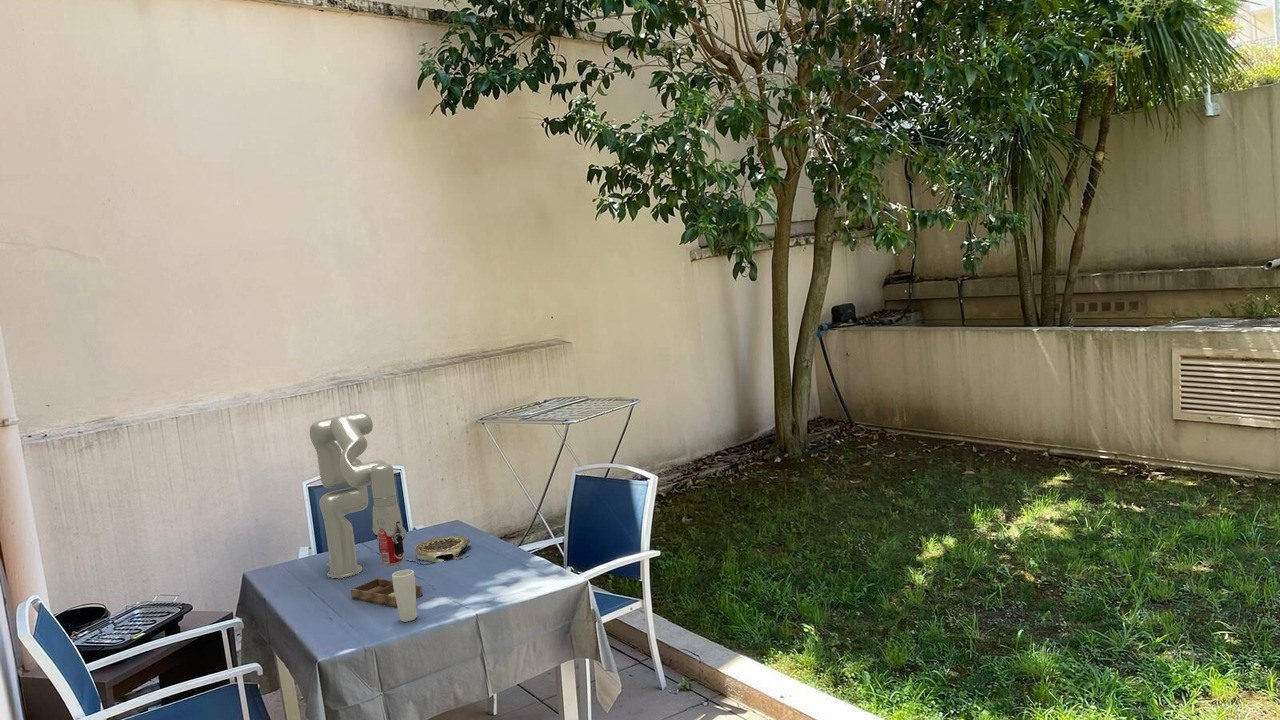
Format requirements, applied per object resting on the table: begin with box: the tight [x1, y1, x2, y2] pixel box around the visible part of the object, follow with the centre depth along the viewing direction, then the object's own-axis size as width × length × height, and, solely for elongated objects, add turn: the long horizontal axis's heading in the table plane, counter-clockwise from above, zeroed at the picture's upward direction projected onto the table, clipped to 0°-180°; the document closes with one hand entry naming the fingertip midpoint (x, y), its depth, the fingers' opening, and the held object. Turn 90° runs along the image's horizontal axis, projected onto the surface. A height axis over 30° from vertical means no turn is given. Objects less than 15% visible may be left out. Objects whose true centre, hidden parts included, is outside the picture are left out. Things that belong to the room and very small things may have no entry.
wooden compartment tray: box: [350, 577, 423, 609], centre depth 292 cm, size 22×12×4 cm, turn 56°
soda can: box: [378, 528, 405, 567], centre depth 287 cm, size 7×7×13 cm
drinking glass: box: [391, 569, 418, 623], centre depth 269 cm, size 7×7×15 cm
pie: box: [408, 535, 471, 565], centre depth 338 cm, size 28×27×5 cm
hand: (391, 552), depth 288 cm, fingers closed on soda can, 7 cm apart
